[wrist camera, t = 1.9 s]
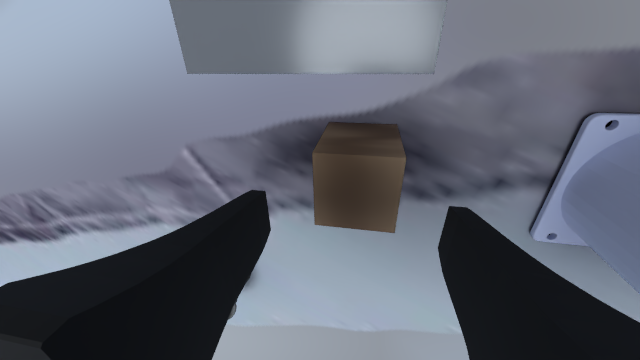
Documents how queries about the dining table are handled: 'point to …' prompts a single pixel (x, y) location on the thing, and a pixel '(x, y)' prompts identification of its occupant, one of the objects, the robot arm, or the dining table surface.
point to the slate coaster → (309, 36)
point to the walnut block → (358, 176)
